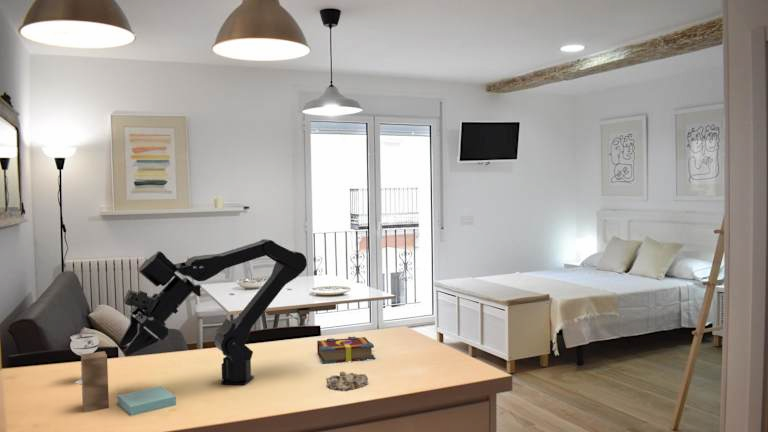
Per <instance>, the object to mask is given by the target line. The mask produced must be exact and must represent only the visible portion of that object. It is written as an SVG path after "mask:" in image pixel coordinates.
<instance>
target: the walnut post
mask: <svg viewBox="0 0 768 432" xmlns="http://www.w3.org/2000/svg"><path fill="white" fill-rule="evenodd" d="M80 365H81V370H80V371H81V379H82V384H81V391H82V392H81V394H82V408H83V411H84V413H87V412H93V411H99V410H104V409H105V410H106V409H109V408H110V402H109V397H110V396H109V374H108V373H109V371H108V370H109V369H108V368H109V367H108V355H107V353H106V350H105V351H97V352H95V351H94V352H93V353H88V354H81V355H80Z"/></svg>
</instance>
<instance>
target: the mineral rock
mask: <svg viewBox="0 0 768 432" xmlns="http://www.w3.org/2000/svg"><path fill="white" fill-rule="evenodd" d="M368 380H369V378H368V377H367V375H366V374H364V373H363V374H362V373H354V372H350V373H346V372H345V371H340V372H339V375H331V376H330V377H326V378H325V382H326V385H327V386H328V388H330V390H333V391H342V392H344V391H349V390H350V391H351V390H355V389H360V388H363V387H365V386H366V385H368V382H369V381H368Z"/></svg>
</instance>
